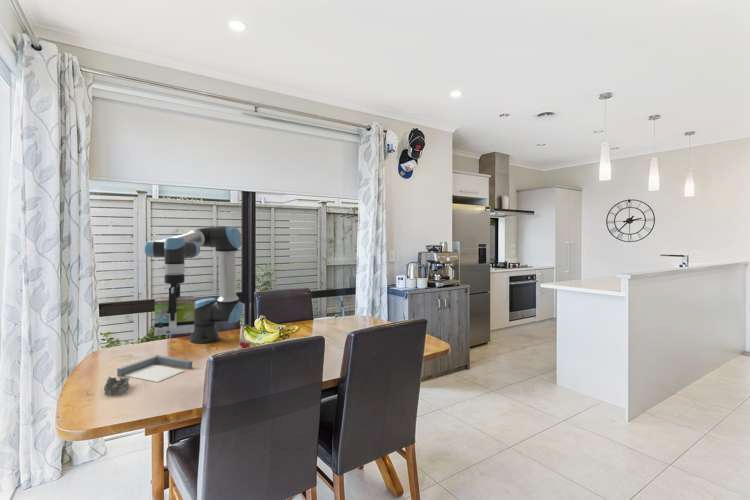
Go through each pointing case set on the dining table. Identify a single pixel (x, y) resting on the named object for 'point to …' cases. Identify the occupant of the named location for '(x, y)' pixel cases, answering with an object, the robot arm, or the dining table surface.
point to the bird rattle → (244, 345)
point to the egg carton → (116, 385)
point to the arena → (154, 368)
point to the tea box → (184, 315)
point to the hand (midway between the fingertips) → (174, 325)
